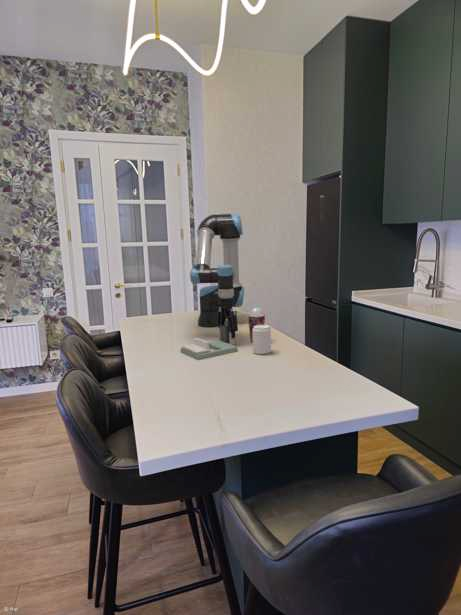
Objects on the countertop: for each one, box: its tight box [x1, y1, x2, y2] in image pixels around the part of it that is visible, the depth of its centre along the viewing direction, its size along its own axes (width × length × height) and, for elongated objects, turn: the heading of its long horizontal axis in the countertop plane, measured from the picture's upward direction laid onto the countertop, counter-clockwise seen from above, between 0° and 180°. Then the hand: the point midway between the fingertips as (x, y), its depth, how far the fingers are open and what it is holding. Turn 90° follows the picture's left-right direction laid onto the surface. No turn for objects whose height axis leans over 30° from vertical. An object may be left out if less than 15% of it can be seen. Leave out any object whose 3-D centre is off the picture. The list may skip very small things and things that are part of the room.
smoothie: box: [247, 301, 266, 343], centre depth 198 cm, size 8×8×20 cm
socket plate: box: [180, 339, 239, 361], centre depth 184 cm, size 21×16×2 cm
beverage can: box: [252, 324, 272, 355], centre depth 180 cm, size 8×8×12 cm
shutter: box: [181, 337, 211, 354], centre depth 180 cm, size 7×13×4 cm, turn 35°
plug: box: [219, 320, 230, 344], centre depth 197 cm, size 5×5×11 cm
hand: (227, 343), depth 198 cm, fingers open, 8 cm apart
